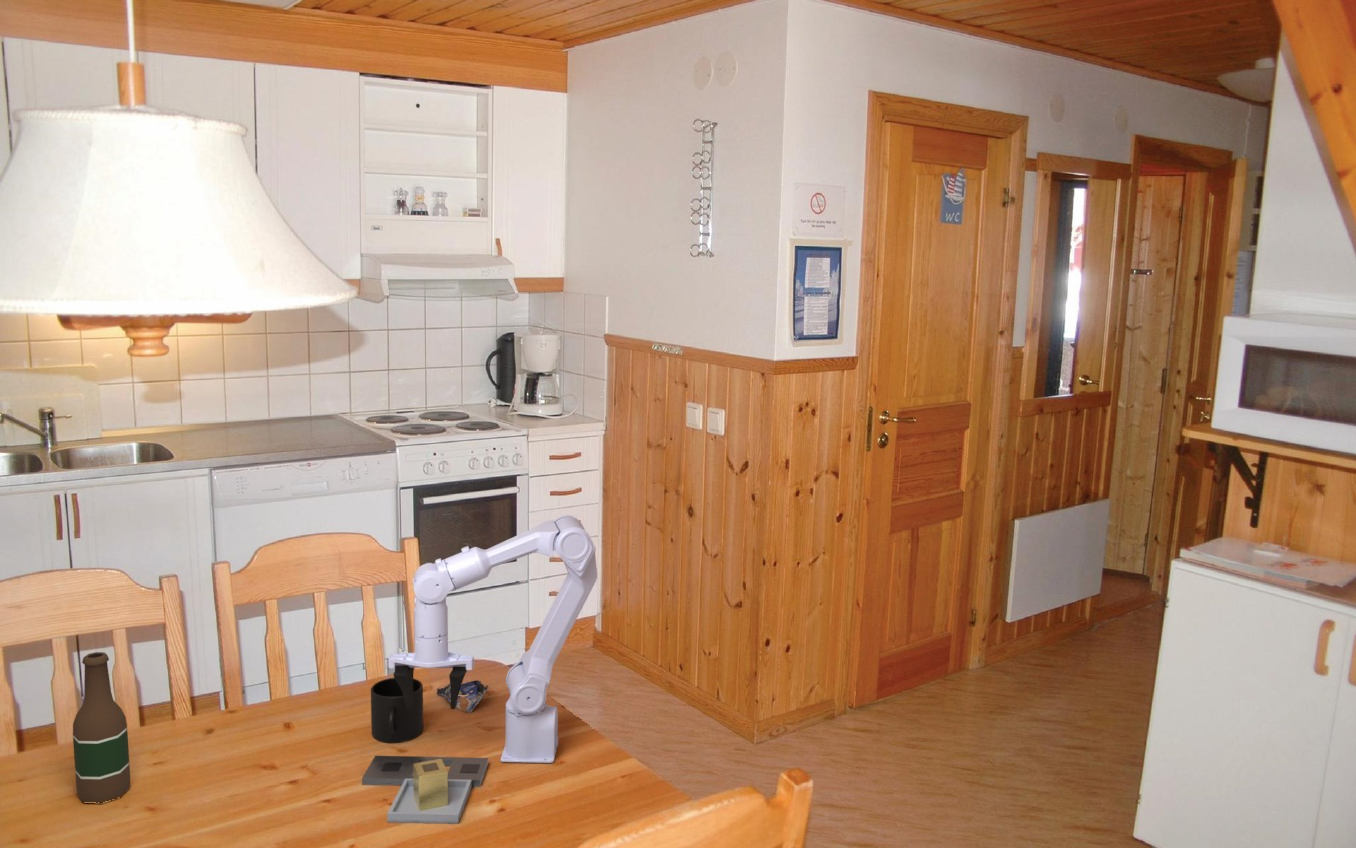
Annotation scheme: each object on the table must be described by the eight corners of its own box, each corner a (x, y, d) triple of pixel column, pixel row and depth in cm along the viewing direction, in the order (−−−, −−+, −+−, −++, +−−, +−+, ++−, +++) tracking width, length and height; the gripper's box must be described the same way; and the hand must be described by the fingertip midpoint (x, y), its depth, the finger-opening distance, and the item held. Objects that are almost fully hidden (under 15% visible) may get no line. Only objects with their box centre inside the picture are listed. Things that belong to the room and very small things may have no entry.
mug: (364, 751, 186) (363, 704, 184) (376, 721, 197) (375, 677, 196) (417, 749, 187) (417, 702, 185) (426, 720, 198) (425, 676, 197)
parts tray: (471, 788, 173) (471, 779, 173) (458, 823, 162) (458, 815, 162) (405, 786, 173) (405, 778, 173) (387, 822, 162) (387, 813, 162)
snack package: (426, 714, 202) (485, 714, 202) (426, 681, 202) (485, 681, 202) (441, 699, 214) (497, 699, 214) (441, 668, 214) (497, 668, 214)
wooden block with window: (441, 792, 171) (441, 758, 170) (447, 805, 167) (447, 770, 166) (413, 797, 169) (413, 763, 168) (419, 811, 165) (418, 776, 164)
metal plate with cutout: (488, 764, 182) (488, 757, 182) (480, 787, 174) (480, 780, 174) (375, 762, 182) (375, 755, 181) (362, 784, 174) (362, 777, 173)
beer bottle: (80, 786, 171) (70, 649, 167) (132, 778, 174) (124, 643, 170) (73, 809, 164) (63, 667, 160) (128, 801, 167) (120, 660, 163)
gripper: (477, 625, 183) (477, 697, 185) (395, 624, 182) (396, 696, 184) (469, 640, 176) (469, 714, 178) (384, 638, 175) (386, 713, 177)
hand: (431, 706), depth 181 cm, fingers open, 7 cm apart
